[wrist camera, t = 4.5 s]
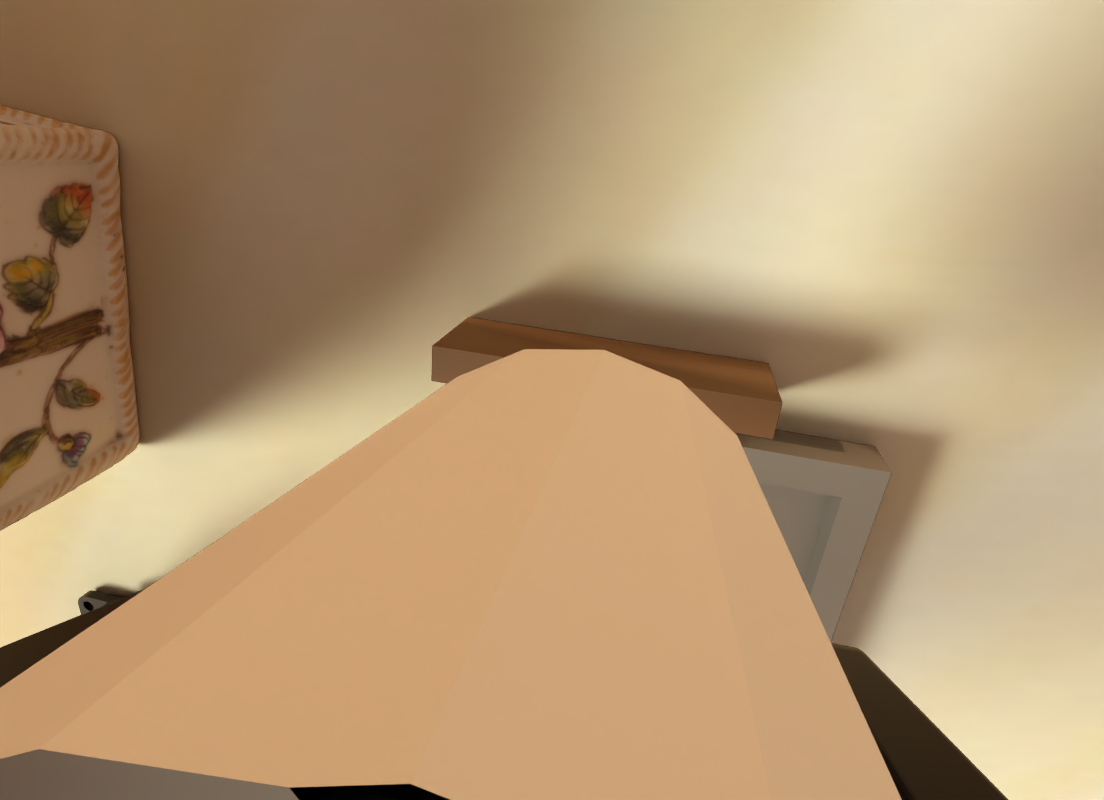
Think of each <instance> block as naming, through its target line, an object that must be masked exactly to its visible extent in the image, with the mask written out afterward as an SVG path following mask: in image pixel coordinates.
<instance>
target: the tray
mask: <svg viewBox="0 0 1104 800" xmlns="http://www.w3.org/2000/svg"><path fill="white" fill-rule="evenodd" d="M735 434H736V435H737V436H738V439H739V441H740V443H741V445H742V447H743V450H744V452H745V454H746V456H747V459H748V461H749V463H750V465H751V467H752V470H753V472H754V474H755V476H756V478H757V481H758V483H759V485H760V487H761V490H762V492H763V494H764V496H765V498H766V501H767V503H768V505H769V507H770V509H771V512H772V514H773V516H774V518H775V520H776V523H777V525H778V527H779V529H780V532H781V534H782V536H783V538H784V540H785V543H786V545H787V547H788V549H789V551H790V554H791V556H792V558H793V560H794V563H795V565H796V567H797V569H798V571H799V574H800V576H801V578H802V580H803V582H804V585H805V587H806V589H807V591H808V593H809V596H810V598H811V600H812V602H813V605H814V607H815V609H816V611H817V613H818V616H819V618H820V620H821V622H822V624H823V627H824V629H825V631H826V633H827V636H828V638H829V640H830V642H831V640H832V637H833V634H834V631H835V629H836V626H837V623H838V620H839V617H840V615H841V612H842V609H843V606H844V603H845V601H846V598H847V595H848V592H849V590H850V587H851V584H852V581H853V578H854V576H855V573H856V570H857V567H858V564H859V562H860V559H861V556H862V553H863V550H864V548H865V545H866V542H867V539H868V536H869V534H870V531H871V528H872V525H873V523H874V520H875V517H876V514H877V511H878V509H879V506H880V503H881V500H882V497H883V495H884V492H885V489H886V486H887V483H888V481H889V478H890V475H891V472H890V470H889V468H888V467H887V465H886V463H885V462H884V460H883V458H882V457H881V455H880V454H879V452H878V450H877V449H876V447H874V446H868V445H862V444H856V443H850V442H845V441H839V440H833V439H827V438H821V437H815V436H809V435H803V434H797V433H791V432H785V431H779V430H775V432H774V436H773V439H769V438H763V437H757V436H751V435H746V434H740V433H735Z"/></svg>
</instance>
